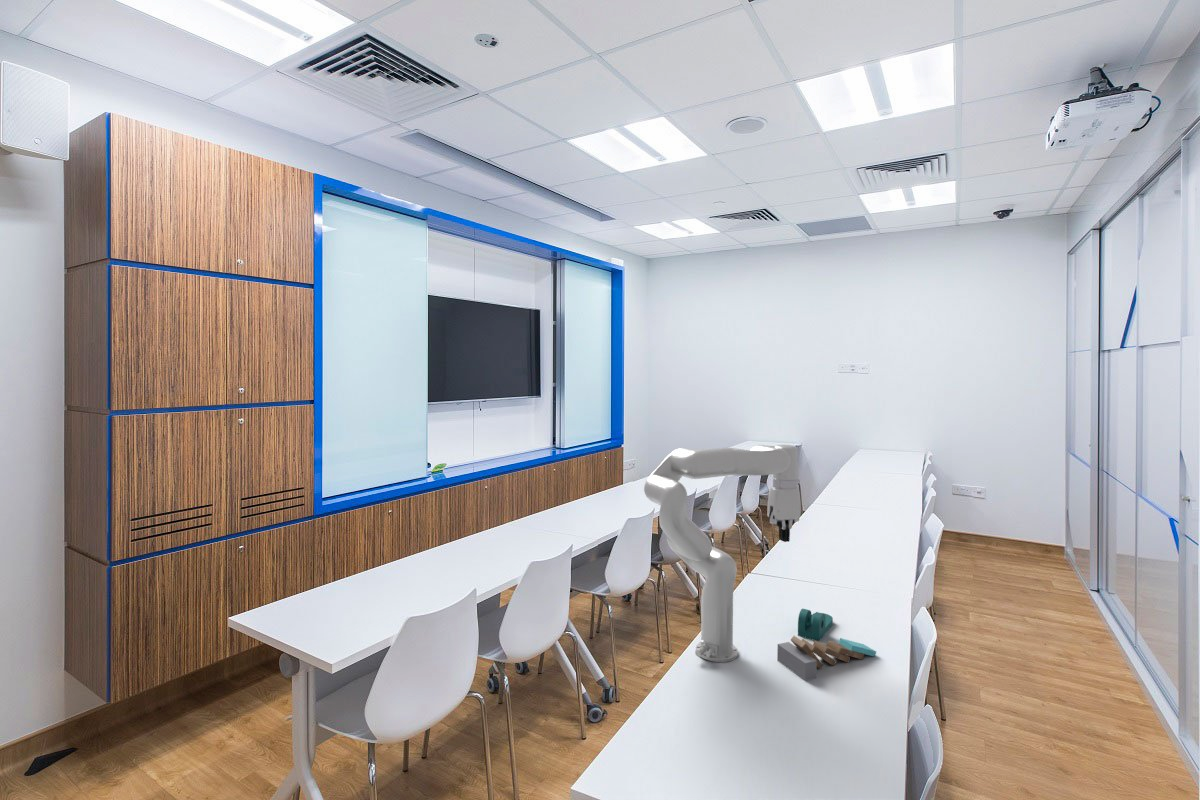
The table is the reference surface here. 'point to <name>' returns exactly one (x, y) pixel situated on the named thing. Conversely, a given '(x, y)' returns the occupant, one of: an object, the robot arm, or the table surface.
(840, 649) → the domino
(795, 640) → the domino
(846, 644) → the teal domino
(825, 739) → the table surface
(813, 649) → the domino
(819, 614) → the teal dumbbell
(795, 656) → the block
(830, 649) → the domino
